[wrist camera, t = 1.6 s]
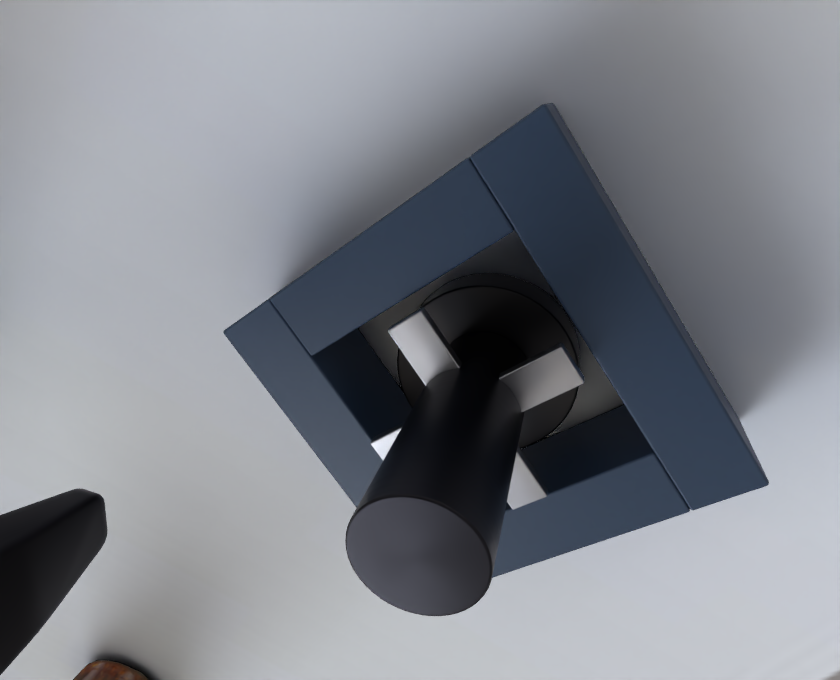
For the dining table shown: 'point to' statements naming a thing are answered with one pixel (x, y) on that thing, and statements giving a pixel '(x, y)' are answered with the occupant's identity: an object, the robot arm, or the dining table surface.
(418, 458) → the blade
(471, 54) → the dining table surface
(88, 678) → the sauce bottle
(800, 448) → the dining table surface
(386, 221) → the blue square frame
